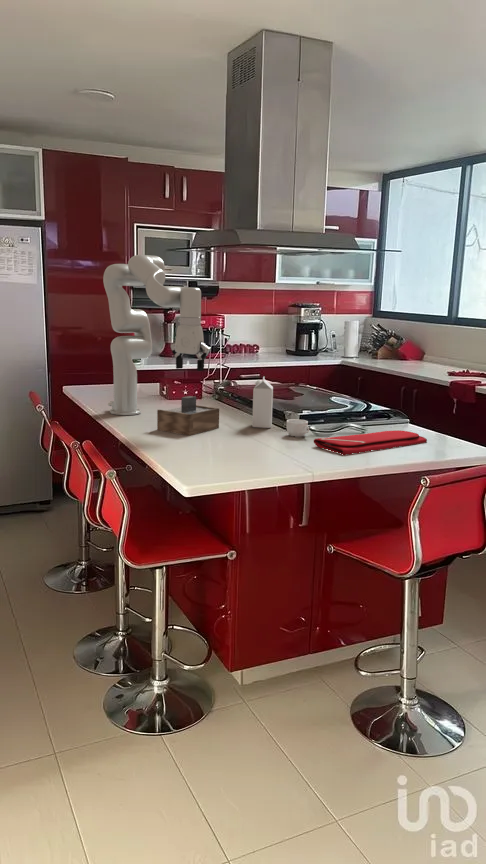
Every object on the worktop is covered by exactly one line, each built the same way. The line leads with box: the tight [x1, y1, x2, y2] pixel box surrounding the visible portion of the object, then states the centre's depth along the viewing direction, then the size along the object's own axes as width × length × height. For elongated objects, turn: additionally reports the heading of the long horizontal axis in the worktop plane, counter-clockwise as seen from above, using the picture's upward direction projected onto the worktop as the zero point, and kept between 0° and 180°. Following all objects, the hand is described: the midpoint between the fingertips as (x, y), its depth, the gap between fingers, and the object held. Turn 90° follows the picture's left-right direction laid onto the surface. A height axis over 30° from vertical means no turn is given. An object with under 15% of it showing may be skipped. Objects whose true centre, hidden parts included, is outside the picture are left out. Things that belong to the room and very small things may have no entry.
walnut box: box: [156, 404, 220, 436], centre depth 257 cm, size 15×18×8 cm
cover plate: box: [165, 395, 211, 414], centre depth 256 cm, size 13×15×6 cm
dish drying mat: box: [313, 430, 428, 456], centre depth 240 cm, size 16×41×4 cm, turn 126°
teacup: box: [286, 418, 310, 438], centre depth 250 cm, size 10×8×5 cm
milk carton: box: [251, 375, 274, 429], centre depth 265 cm, size 7×7×19 cm
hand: (189, 369), depth 253 cm, fingers open, 9 cm apart
